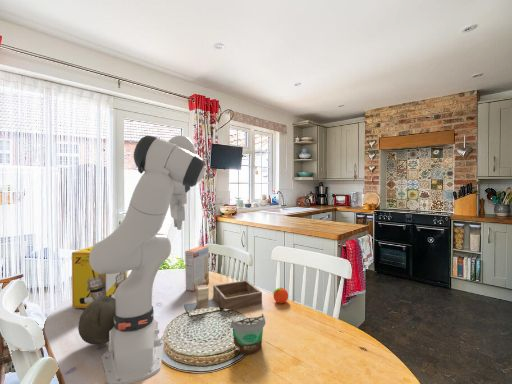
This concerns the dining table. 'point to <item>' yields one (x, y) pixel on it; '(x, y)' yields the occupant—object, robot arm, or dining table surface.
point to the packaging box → (91, 280)
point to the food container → (248, 334)
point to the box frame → (237, 301)
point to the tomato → (280, 295)
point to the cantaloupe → (97, 320)
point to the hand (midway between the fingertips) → (177, 228)
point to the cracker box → (197, 267)
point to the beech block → (202, 297)
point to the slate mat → (193, 306)
